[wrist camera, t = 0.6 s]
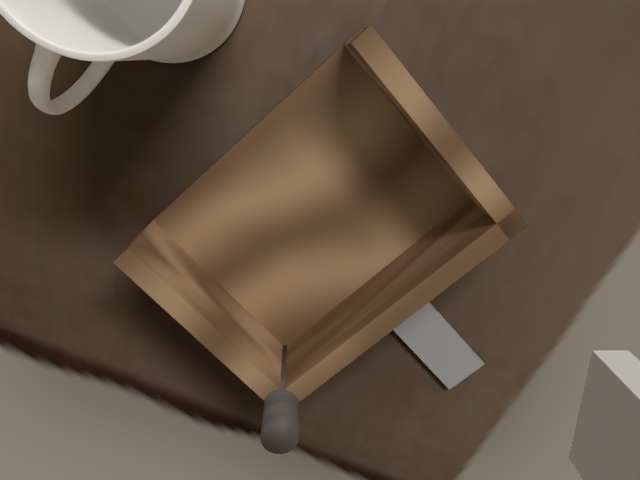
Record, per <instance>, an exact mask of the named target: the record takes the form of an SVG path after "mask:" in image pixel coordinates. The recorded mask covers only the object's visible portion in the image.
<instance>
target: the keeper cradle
mask: <svg viewBox="0 0 640 480" xmlns="http://www.w3.org/2000/svg"><path fill="white" fill-rule="evenodd" d="M527 226H528V224H527V223H526V221H525V220H524V219H523V218H522V216H521V215H520V214H519V213H518V211H517V210H516V209H515V207H514V206H513V205H512V204H511V202H510V201H509V200H508V199H507V197H506V196H505V195H504V193H503V192H502V191H501V190H500V188H499V187H498V186H497V185H496V183H495V182H494V181H493V179H492V178H491V177H490V176H489V174H488V173H487V172H486V171H485V169H484V168H483V167H482V165H481V164H480V163H479V162H478V160H477V159H476V158H475V157H474V155H473V154H472V153H471V151H470V150H469V149H468V148H467V146H466V145H465V144H464V143H463V141H462V140H461V139H460V137H459V136H458V135H457V134H456V132H455V131H454V130H453V129H452V127H451V126H450V125H449V123H448V122H447V121H446V120H445V118H444V117H443V116H442V115H441V113H440V112H439V111H438V109H437V108H436V107H435V106H434V104H433V103H432V102H431V101H430V99H429V98H428V97H427V95H426V94H425V93H424V92H423V90H422V89H421V88H420V87H419V85H418V84H417V83H416V81H415V80H414V79H413V78H412V76H411V75H410V74H409V73H408V71H407V70H406V69H405V67H404V66H403V65H402V64H401V62H400V61H399V60H398V59H397V57H396V56H395V55H394V53H393V52H392V51H391V50H390V48H389V47H388V46H387V45H386V43H385V42H384V41H383V39H382V38H381V37H380V36H379V34H378V33H377V32H376V31H375V29H374V28H373V27H372V25H370V26H368V27H365V28H363V29H360V30H359V31H357V32H356V33H355V34H354V35H353V36H352V37H351V38H350V39H349V40H348V41H347V42H346V43H344V44H343V45H342V46H341V47H340V48H339V49H338V50H337V51H336V52H335V53H334V54H333V55H331V56H330V57H329V58H328V59H327V60H326V61H325V62H324V63H323V64H322V65H321V66H320V67H318V68H317V69H316V70H315V71H314V72H313V73H312V74H311V75H310V76H309V77H308V78H306V79H305V80H304V81H303V82H302V83H301V84H300V85H299V86H298V87H297V88H296V89H295V90H293V91H292V92H291V93H290V94H289V95H288V96H287V97H286V98H285V99H284V100H283V101H282V102H280V103H279V104H278V105H277V106H276V107H275V108H274V109H273V110H272V111H271V112H270V113H268V114H267V115H266V116H265V117H264V118H263V119H262V120H261V121H260V122H259V123H258V124H257V125H255V126H254V127H253V128H252V129H251V130H250V131H249V132H248V133H247V134H246V135H245V136H244V137H242V138H241V139H240V140H239V141H238V142H237V143H236V144H235V145H234V146H233V147H232V148H230V149H229V150H228V151H227V152H226V153H225V154H224V155H223V156H222V157H221V158H220V159H219V160H217V161H216V162H215V163H214V164H213V165H212V166H211V167H210V168H209V169H208V170H207V171H206V172H204V173H203V174H202V175H201V176H200V177H199V178H198V179H197V180H196V181H195V182H194V183H193V184H191V185H190V186H189V187H188V188H187V189H186V190H185V191H184V192H183V193H182V194H181V195H179V196H178V197H177V198H176V199H175V200H174V201H173V202H172V203H171V204H170V205H169V206H168V207H166V208H165V209H164V210H163V211H162V212H161V213H160V214H159V215H158V216H157V217H156V218H155V219H153V220H152V221H151V222H150V223H149V224H148V225H147V226H146V227H145V228H144V229H143V230H142V231H141V232H140V233H139V234H138V235H137V236H136V237H135V238H134V239H133V241H132V242H131V243H130V244H129V245H128V246H127V247H126V248H125V249H124V251H123V252H122V253H121V254H120V255H119V256H118V257H117V258H116V259H115V260H114V262H113V263H114V264H115V265H116V266H117V267H118V268H119V269H121V270H122V271H123V272H124V273H125V274H126V275H127V276H128V277H129V278H130V279H131V280H133V281H134V282H135V283H136V284H137V285H138V286H139V287H140V288H141V289H142V290H144V291H145V292H146V293H147V294H148V295H149V296H150V297H151V298H152V299H153V300H154V301H156V302H157V303H158V304H159V305H160V306H161V307H162V308H163V309H164V310H165V311H166V312H168V313H169V314H170V315H171V316H172V317H173V318H174V319H175V320H176V321H177V322H178V323H180V324H181V325H182V326H183V327H184V328H185V329H186V330H187V331H188V332H189V333H190V334H192V335H193V336H194V337H195V338H196V339H197V340H198V341H199V342H200V343H201V344H202V345H204V346H205V347H206V348H207V349H208V350H209V351H210V352H211V353H212V354H213V355H215V356H216V357H217V358H218V359H219V360H220V361H221V362H222V363H223V364H224V365H225V366H227V367H228V368H229V369H230V370H231V371H232V372H233V373H234V374H235V375H236V376H237V377H239V378H240V379H241V380H242V381H243V382H244V383H245V384H246V385H247V386H248V387H249V388H251V389H252V390H253V391H254V392H255V393H256V394H257V395H258V396H259V397H260V398H261V399H263V400H264V410H263V419H262V428H261V437H260V438H261V443H262V445H263V447H264V448H265V449H266V450H268V451H269V452H272V453H276V454H283V453H287V452H289V451H291V450H292V449H294V448H295V446H296V445H297V443H298V421H299V402H300V401H301V400H303V399H304V398H305V397H307V396H308V395H309V394H310V393H312V392H313V391H314V390H316V389H317V388H318V387H319V386H321V385H322V384H323V383H325V382H326V381H327V380H329V379H330V378H331V377H332V376H334V375H335V374H336V373H338V372H339V371H340V370H342V369H343V368H344V367H345V366H347V365H348V364H349V363H351V362H352V361H353V360H355V359H356V358H357V357H358V356H360V355H361V354H362V353H364V352H365V351H366V350H367V349H369V348H370V347H371V346H373V345H374V344H375V343H377V342H378V341H379V340H380V339H382V338H383V337H384V336H386V335H387V334H388V333H390V332H391V331H392V330H393V329H395V328H396V327H397V326H399V325H400V324H401V323H403V322H404V321H405V320H406V319H408V318H409V317H410V316H412V315H413V314H414V313H415V312H417V311H418V310H419V309H421V308H422V307H423V306H425V305H426V304H427V303H428V302H430V301H431V300H432V299H434V298H435V297H436V296H438V295H439V294H440V293H441V292H443V291H444V290H445V289H447V288H448V287H449V286H450V285H452V284H453V283H454V282H456V281H457V280H458V279H460V278H461V277H462V276H463V275H465V274H466V273H467V272H469V271H470V270H471V269H473V268H474V267H475V266H476V265H478V264H479V263H480V262H482V261H483V260H484V259H486V258H487V257H488V256H489V255H491V254H492V253H493V252H495V251H496V250H497V249H498V248H500V247H501V246H502V245H504V244H505V243H506V242H508V241H509V240H510V239H511V238H513V237H514V236H515V235H517V234H518V233H519V232H521V231H522V230H523V229H524V228H526V227H527Z"/></svg>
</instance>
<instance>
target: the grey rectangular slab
mask: <svg viewBox="0 0 640 480" xmlns="http://www.w3.org/2000/svg"><path fill="white" fill-rule="evenodd" d="M393 331H394V332H395V333H396V334H397V335H398V336H399V337H400V338H401V339H402V340H403V341H404V342H405V343H406V344H407V345H408V346H409V348H410V349H411V350H412V351H413V352H414V353H415V354H416V355H417V356H418V357H419V358H420V359H421V360H422V361H423V362H424V363H425V364H426V366H427V367H428V368H429V369H430V370H431V371H432V372H433V373H434V374H435V375H436V376H437V377H438V378H439V379H440V380H441V381H442V382H443V384H444V385H445V386H446V387H447V388H448V389H449V390H450V389H451V388H452V387H454V386H455V385H457V384H458V383H459V382H461V381H462V380H464V379H465V378H466V377H468V376H469V375H470V374H472V373H473V372H475V371H476V370H477V369H479V368H480V367H481V366H483V365H484V363H483V361H482V360H481V359H480V358H479V357H478V356H477V355H476V353H475V352H474V351H473V350H472V349H471V348H470V347H469V346H468V344H467V343H466V342H465V341H464V340H463V339H462V338H461V337H460V336H459V334H458V333H457V332H456V331H455V330H454V329H453V328H452V327H451V326H450V324H449V323H448V322H447V321H446V320H445V319H444V318H443V317H442V316H441V314H440V313H439V312H438V311H437V310H436V309H435V308H434V307H433V306H432V304H431V303H430V302H428V303H427V304H426V305H425V306H423V307H422V308H421V309H419V310H418V311H417V312H415V313H414V314H413V315H412V316H410V317H409V318H408V319H406V320H405V321H404V322H403V323H401V324H400V325H399V326H397V327H396V328H395V329H393Z"/></svg>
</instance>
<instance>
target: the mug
mask: <svg viewBox="0 0 640 480" xmlns="http://www.w3.org/2000/svg"><path fill="white" fill-rule="evenodd" d="M244 2H245V0H0V14H1V15H2V16H3V17H4V18H5V19H6V20H7V21H8V22H9V23H10V24H11V25H12V26H13V27H14V28H15V29H17V30H18V31H19V32H20V33H22V34H23V35H24V36H26V37H27V38H28V39H30V40H31V41H33V42H35V43H36V46H35V50H34V53H33V57H32V60H31V64H30V69H29V75H28V93H29V97H30V99H31V101H32V103H33V104H34V105H35V107H37V108H38V109H39V110H41V111H42V112H44V113H47V114H50V115H59V114H63V113H65V112H67V111H69V110H71V109H72V108H74V107H75V106H77V105H78V104H79V103H80V102H81V101H83V100H84V99H85V98H86V97H87V96H88V95H89V94H90V93H91V92H92V90H93V89H94V88H95V87H96V86H97V85H98V84H99V82H100V81H101V80H102V78H103V77H104V76H105V74H106V73H107V72H108V70H109V69H110V67H111V66H112V64H113V63H114V62H115V61H132V60H153V61H157V62H163V63H183V62H189V61H193V60H196V59H199V58H201V57H203V56H205V55H207V54H209V53H211V52H212V51H214V50H215V49H216V48H218V47H219V46H220V45H221V44H222V43H223V42H224V41H225V40H226V39H227V38H228V37H229V35H230V34H231V33H232V31H233V30H234V28H235V26H236V24H237V23H238V20H239V18H240V16H241V13H242V10H243V6H244ZM61 55H63V56H66V57H69V58H73V59H78V60H84V61H93V62H92V63H91V64H90V66H89V67H88V68H87V70H86V71H85V72H84V73H83V75H82V76H81V77H80V78H79V79H78V80H77V81H76V82H75V83H74V84H73V85H72V86H71V87H70V88H69V89H68V90H67V91H66V92H64V93H63V94H62V95H60V96H59V97H57V98H55V99H53V100H50V86H51V81H52V77H53V74H54V71H55V68H56V65H57V63H58V61H59V59H60V57H61Z"/></svg>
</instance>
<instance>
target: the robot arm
mask: <svg viewBox="0 0 640 480" xmlns="http://www.w3.org/2000/svg"><path fill="white" fill-rule="evenodd" d="M569 459H570V461H571V462H572V464H573V465H574V467H575V468H576V470H577V471H578V473H579V474H580V476H581V477H582V479H583V480H640V361H639V360H638V359H637V358H636V357H635V356H634V355H633V354H632V353H630V352H629V351H592V356H591V360H590V365H589V369H588V374H587V379H586V383H585V388H584V392H583V397H582V401H581V406H580V410H579V415H578V420H577V424H576V428H575V433H574V438H573V442H572V447H571V451H570V456H569Z"/></svg>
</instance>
